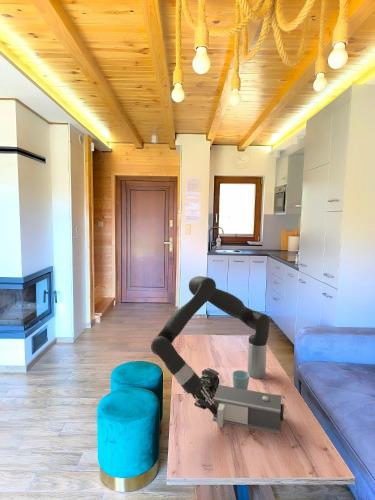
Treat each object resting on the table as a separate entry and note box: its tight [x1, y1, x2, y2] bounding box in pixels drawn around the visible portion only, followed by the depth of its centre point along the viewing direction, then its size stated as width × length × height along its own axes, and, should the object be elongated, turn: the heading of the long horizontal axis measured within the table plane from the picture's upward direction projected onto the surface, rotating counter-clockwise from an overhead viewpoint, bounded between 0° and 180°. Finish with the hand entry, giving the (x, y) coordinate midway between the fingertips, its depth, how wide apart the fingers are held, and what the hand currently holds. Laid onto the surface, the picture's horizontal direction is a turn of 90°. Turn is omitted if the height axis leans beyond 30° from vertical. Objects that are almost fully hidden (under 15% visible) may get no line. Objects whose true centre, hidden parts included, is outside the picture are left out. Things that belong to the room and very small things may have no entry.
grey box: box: [212, 384, 285, 435], centre depth 129 cm, size 11×27×10 cm, turn 72°
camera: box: [200, 367, 220, 392], centre depth 150 cm, size 13×10×10 cm
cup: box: [232, 369, 250, 390], centre depth 145 cm, size 8×8×10 cm
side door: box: [216, 402, 248, 428], centre depth 123 cm, size 6×11×7 cm, turn 72°
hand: (216, 412), depth 123 cm, fingers closed
